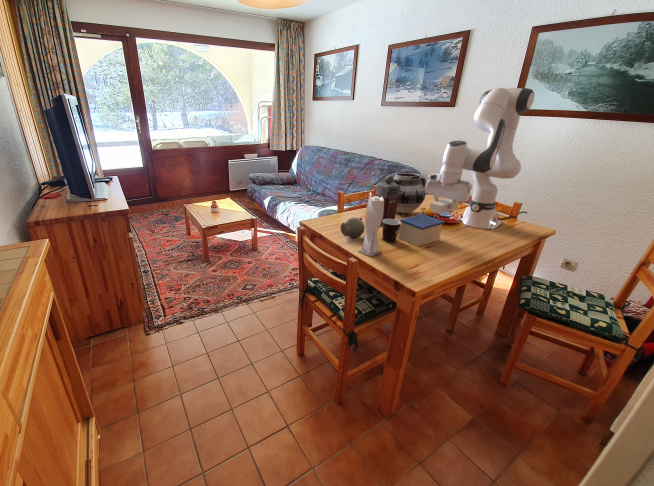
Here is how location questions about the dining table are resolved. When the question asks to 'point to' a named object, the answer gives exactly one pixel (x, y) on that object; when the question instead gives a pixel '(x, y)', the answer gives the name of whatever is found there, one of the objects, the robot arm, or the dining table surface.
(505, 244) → the dining table surface
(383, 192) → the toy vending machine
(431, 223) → the container
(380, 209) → the skyscraper
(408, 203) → the ceramic pot
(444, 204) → the case
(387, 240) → the coffee mug
